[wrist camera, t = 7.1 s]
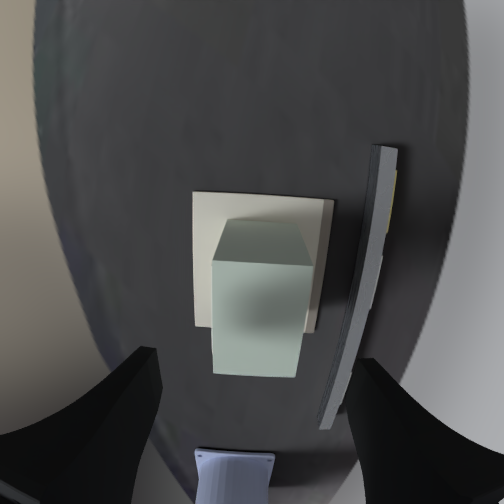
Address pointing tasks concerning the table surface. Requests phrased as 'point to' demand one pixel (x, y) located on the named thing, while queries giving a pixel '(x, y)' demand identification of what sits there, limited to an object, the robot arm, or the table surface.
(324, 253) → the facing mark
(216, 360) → the sage carton
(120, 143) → the table surface
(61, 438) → the robot arm
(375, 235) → the rail
